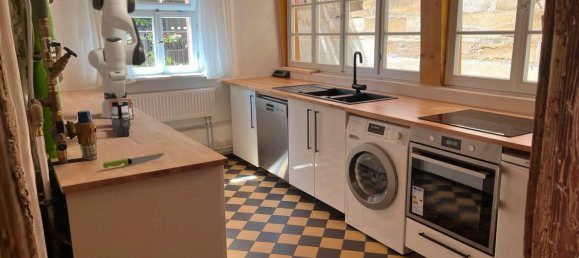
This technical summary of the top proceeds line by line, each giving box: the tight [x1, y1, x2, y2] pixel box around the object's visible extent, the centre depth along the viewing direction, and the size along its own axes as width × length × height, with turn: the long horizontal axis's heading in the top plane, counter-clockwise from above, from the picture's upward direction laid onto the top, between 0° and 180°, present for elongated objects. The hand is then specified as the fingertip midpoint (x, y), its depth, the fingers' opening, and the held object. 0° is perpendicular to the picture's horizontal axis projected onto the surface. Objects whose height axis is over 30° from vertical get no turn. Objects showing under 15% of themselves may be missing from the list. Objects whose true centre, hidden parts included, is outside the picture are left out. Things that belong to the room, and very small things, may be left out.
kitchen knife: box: [102, 152, 165, 170], centre depth 159 cm, size 22×1×3 cm, turn 126°
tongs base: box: [111, 117, 131, 138], centre depth 209 cm, size 19×8×6 cm, turn 24°
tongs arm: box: [122, 122, 130, 137], centre depth 207 cm, size 14×2×4 cm, turn 24°
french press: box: [109, 92, 135, 126], centre depth 222 cm, size 12×9×23 cm
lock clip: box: [108, 97, 132, 110], centre depth 200 cm, size 9×3×4 cm, turn 114°
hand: (120, 104), depth 200 cm, fingers closed on lock clip, 3 cm apart
